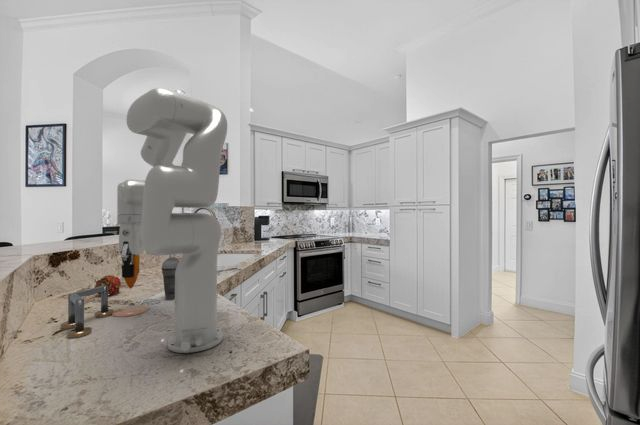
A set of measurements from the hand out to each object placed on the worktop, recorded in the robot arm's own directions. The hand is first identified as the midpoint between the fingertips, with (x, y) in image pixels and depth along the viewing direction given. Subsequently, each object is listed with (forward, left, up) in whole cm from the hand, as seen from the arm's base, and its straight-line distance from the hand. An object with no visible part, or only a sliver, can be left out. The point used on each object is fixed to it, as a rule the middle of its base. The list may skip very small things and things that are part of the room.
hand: (130, 275), depth 95 cm
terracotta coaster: (0, 0, -12) cm, 12 cm away
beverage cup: (+13, -10, -12) cm, 20 cm away
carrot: (0, 0, -5) cm, 5 cm away
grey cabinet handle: (-9, +9, -12) cm, 18 cm away
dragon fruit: (+28, +16, -12) cm, 34 cm away
